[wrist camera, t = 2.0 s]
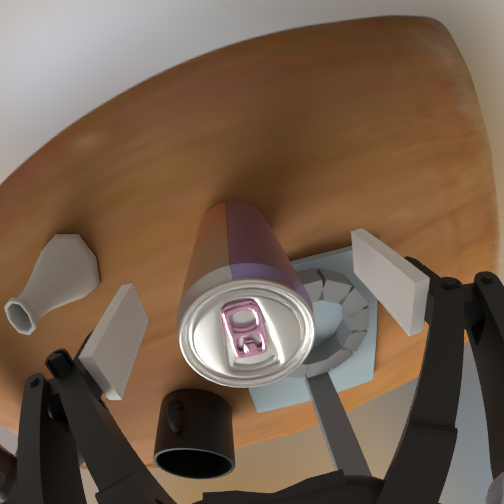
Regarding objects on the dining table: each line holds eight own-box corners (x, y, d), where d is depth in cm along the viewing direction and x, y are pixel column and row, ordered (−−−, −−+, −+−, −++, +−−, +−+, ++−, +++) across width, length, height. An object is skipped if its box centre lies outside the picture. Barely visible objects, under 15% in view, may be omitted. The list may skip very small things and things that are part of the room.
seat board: (257, 407, 34) (280, 547, 15) (212, 280, 26) (209, 509, 7) (369, 375, 34) (434, 494, 15) (371, 240, 26) (529, 374, 7)
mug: (210, 368, 30) (210, 431, 22) (239, 422, 35) (244, 475, 26) (139, 379, 30) (125, 437, 22) (178, 430, 35) (175, 481, 26)
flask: (62, 302, 26) (19, 358, 16) (34, 243, 23) (-23, 285, 14) (111, 288, 26) (72, 351, 16) (83, 221, 23) (23, 262, 14)
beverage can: (260, 192, 24) (314, 259, 10) (272, 255, 26) (324, 373, 12) (192, 207, 24) (151, 295, 10) (209, 269, 26) (199, 399, 12)
